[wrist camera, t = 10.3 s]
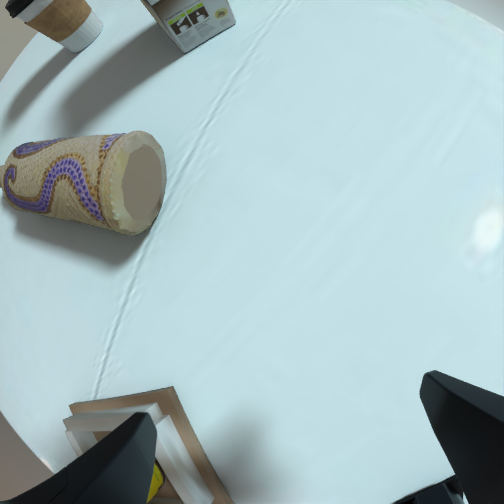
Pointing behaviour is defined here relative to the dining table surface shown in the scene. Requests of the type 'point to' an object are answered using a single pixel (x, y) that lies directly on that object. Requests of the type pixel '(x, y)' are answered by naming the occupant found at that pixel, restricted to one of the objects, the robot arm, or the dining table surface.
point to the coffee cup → (59, 20)
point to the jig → (167, 446)
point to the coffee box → (191, 19)
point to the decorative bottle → (89, 180)
